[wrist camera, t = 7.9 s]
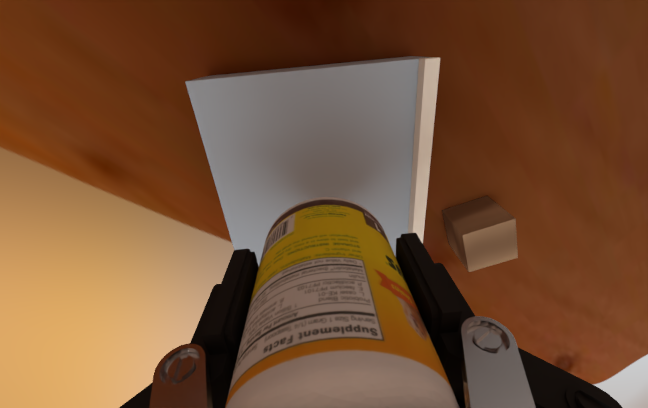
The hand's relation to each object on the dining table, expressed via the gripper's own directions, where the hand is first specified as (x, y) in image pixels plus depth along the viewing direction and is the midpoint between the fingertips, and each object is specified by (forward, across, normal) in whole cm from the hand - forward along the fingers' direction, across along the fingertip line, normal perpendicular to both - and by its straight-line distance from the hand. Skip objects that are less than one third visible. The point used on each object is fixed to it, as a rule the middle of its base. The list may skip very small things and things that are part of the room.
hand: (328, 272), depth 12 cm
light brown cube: (+13, -13, +7) cm, 20 cm away
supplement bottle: (+2, 0, 0) cm, 2 cm away
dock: (+13, 0, +2) cm, 13 cm away
